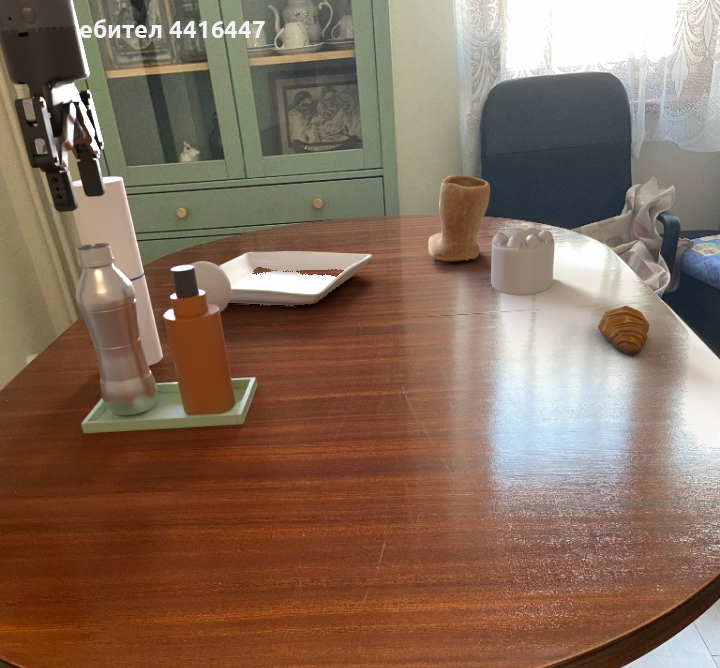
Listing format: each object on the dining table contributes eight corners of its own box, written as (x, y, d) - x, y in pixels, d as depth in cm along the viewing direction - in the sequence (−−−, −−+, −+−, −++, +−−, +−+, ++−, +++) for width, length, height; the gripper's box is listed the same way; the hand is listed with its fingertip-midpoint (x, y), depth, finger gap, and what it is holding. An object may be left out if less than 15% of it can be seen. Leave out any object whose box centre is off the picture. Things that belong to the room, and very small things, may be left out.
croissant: (587, 325, 105) (590, 291, 103) (636, 323, 105) (640, 289, 102) (605, 360, 94) (608, 323, 91) (659, 358, 93) (665, 320, 91)
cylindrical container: (138, 374, 102) (92, 186, 90) (103, 368, 106) (53, 186, 93) (173, 357, 108) (134, 176, 95) (138, 351, 111) (96, 176, 98)
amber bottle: (178, 418, 87) (146, 277, 79) (190, 396, 93) (161, 262, 84) (230, 415, 87) (204, 273, 78) (239, 393, 93) (216, 258, 84)
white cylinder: (236, 357, 106) (218, 252, 98) (251, 372, 100) (233, 262, 92) (188, 368, 103) (165, 261, 96) (200, 384, 98) (178, 272, 90)
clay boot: (490, 264, 138) (492, 180, 131) (428, 267, 140) (426, 184, 132) (486, 245, 151) (487, 168, 144) (428, 248, 153) (426, 172, 145)
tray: (84, 436, 86) (80, 423, 85) (114, 397, 96) (111, 385, 95) (243, 427, 85) (241, 414, 84) (257, 388, 95) (255, 376, 94)
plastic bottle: (118, 400, 94) (76, 241, 84) (169, 398, 93) (132, 238, 83) (98, 422, 88) (50, 255, 78) (151, 421, 87) (109, 252, 77)
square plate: (320, 315, 119) (318, 291, 117) (179, 309, 129) (174, 287, 127) (374, 270, 141) (373, 250, 139) (250, 268, 150) (247, 249, 148)
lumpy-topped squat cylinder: (549, 272, 131) (552, 222, 126) (555, 293, 120) (559, 239, 115) (490, 274, 132) (491, 225, 128) (491, 295, 121) (492, 242, 117)
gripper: (30, 31, 76) (72, 194, 84) (-37, 27, 64) (20, 219, 72) (100, 24, 76) (135, 189, 84) (45, 20, 64) (93, 213, 72)
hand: (82, 203), depth 78 cm, fingers open, 8 cm apart
